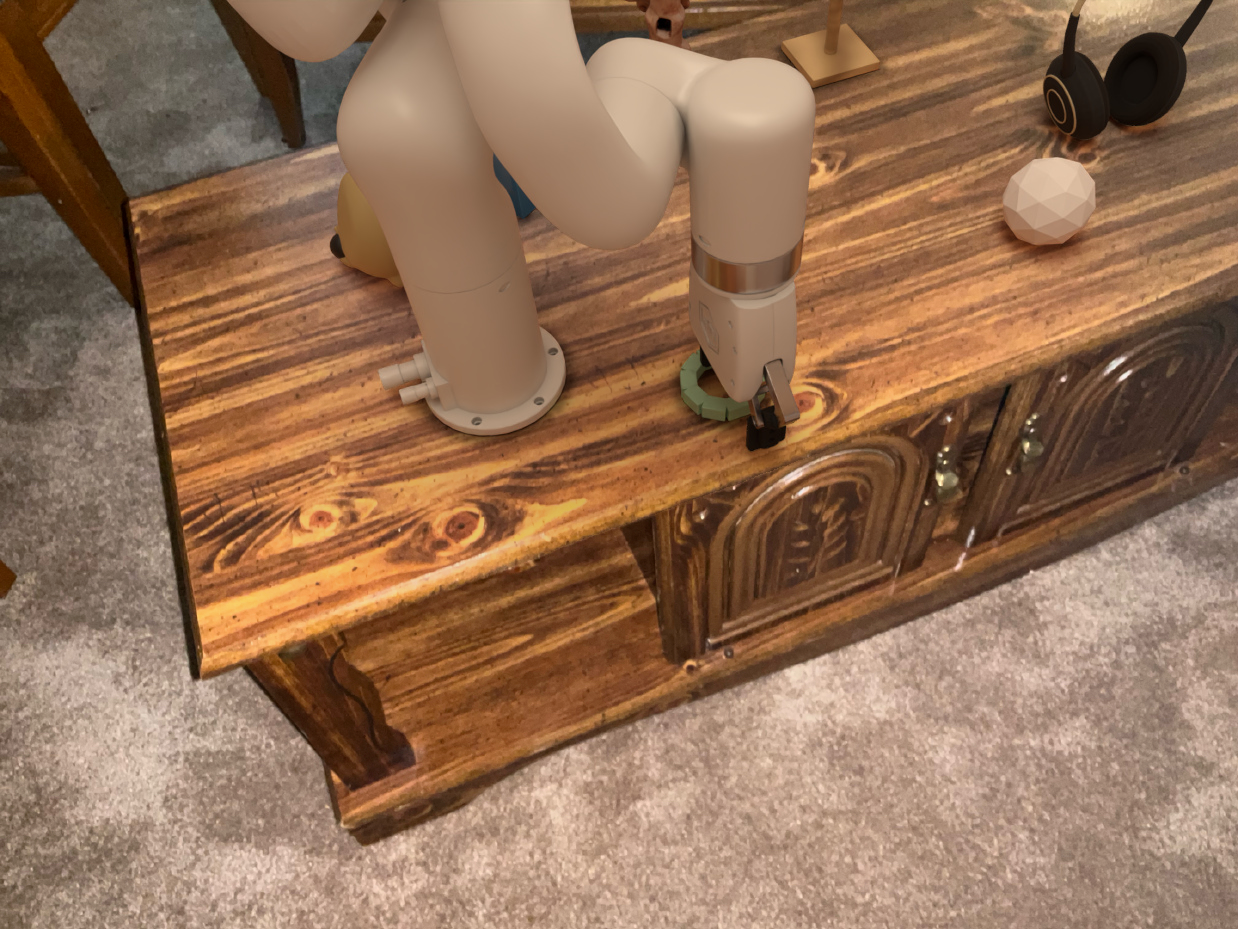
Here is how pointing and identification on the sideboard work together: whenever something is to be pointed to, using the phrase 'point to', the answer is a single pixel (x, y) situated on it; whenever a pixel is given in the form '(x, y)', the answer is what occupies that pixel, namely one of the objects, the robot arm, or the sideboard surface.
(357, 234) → the toy pig
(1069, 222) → the geometric ball
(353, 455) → the sideboard surface
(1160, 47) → the headphones
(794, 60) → the peg stand
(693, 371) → the ring
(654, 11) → the figurine
